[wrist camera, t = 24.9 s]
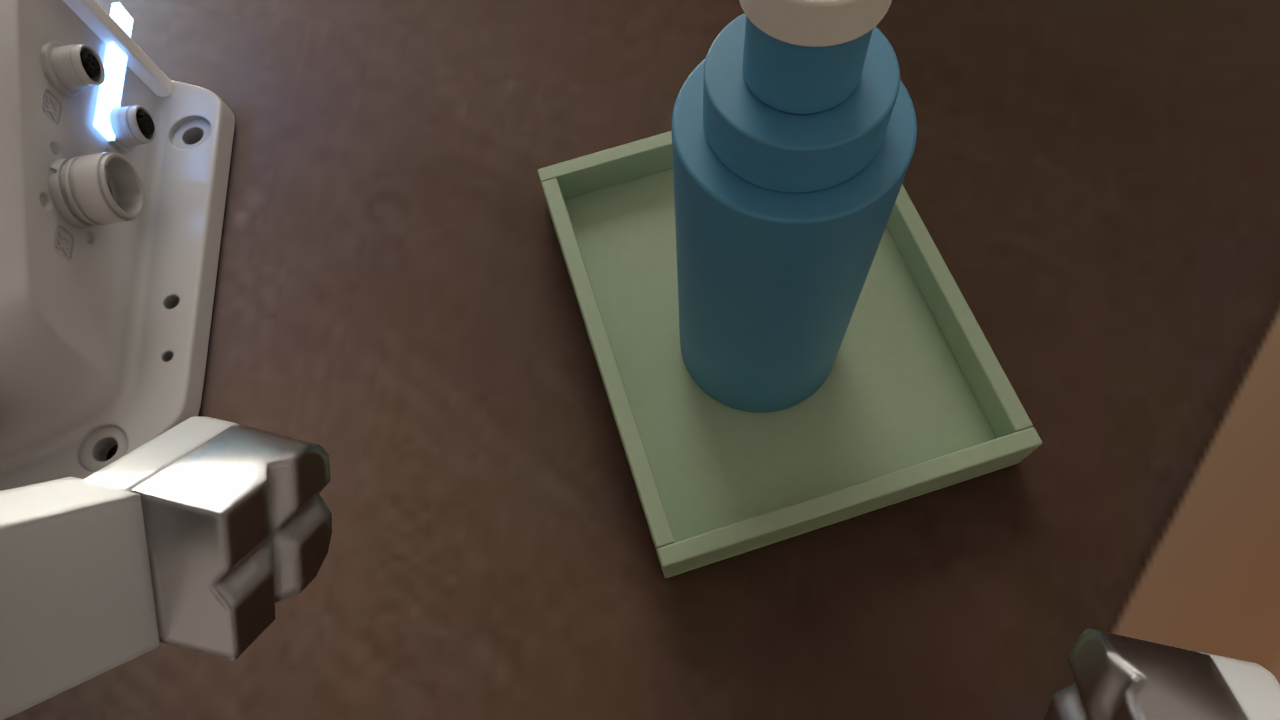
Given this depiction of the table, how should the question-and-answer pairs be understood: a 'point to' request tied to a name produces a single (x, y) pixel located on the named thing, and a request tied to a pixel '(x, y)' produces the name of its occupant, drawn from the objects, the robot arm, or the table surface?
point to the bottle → (784, 192)
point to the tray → (790, 438)
